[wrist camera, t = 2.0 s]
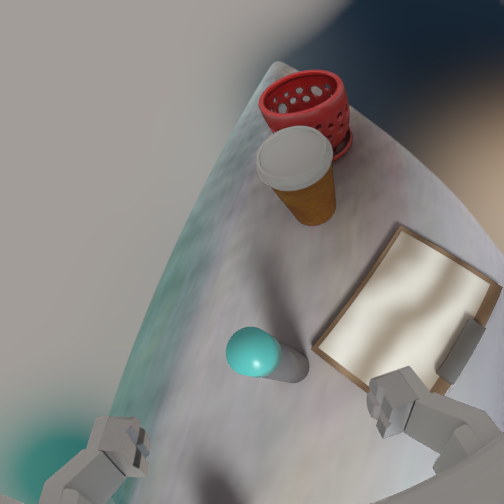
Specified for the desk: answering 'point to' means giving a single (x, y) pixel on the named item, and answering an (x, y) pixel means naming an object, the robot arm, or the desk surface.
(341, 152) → the plant pot
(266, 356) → the ball
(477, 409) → the robot arm
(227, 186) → the desk surface
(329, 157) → the disposable coffee cup
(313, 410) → the desk surface
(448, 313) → the clipboard
